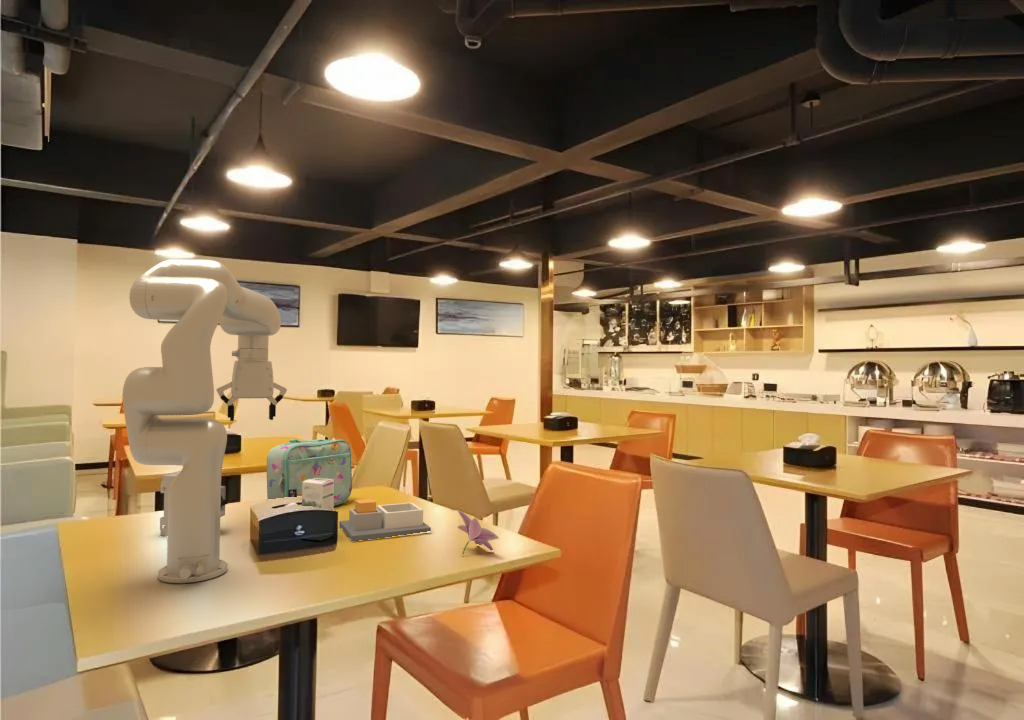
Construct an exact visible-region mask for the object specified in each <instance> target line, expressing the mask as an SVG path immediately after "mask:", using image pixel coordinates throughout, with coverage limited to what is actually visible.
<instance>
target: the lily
mask: <svg viewBox="0 0 1024 720" xmlns="http://www.w3.org/2000/svg"><path fill="white" fill-rule="evenodd" d="M456 511H457V512H458V514H459V516H460V518H462V521H463V523H464V524H461V525H458V526H457V529H459V530H461V531H463V532H464V533H466V534H467V535H468V540H467V542H466V544H465V546H464V548H463V551H462V554H463V555H464V554H465V551H466V549H467V547H468V544H469V543H470V542H472V541H473V542H474V543H475V545H476V544H479V545H481V546H485V547H486V548H488V550H490V551H491V550H494V548H493V547H492V545H491V543H490V541H494V540H499V538H500V537H499V535H497V534H495V532H493V531H491V530H489V529H487V528H484V527H481V523H480V522H479V520H478V519H477V518H476V517H473V519H471V518H470V517H469V516H468V515H467V514H466V513H465V512H464V511H461V509H458V508H457V509H456ZM462 554H461V555H462Z"/></svg>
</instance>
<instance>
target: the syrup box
mask: <svg viewBox="0 0 1024 720" xmlns="http://www.w3.org/2000/svg"><path fill="white" fill-rule="evenodd" d="M302 506H313V507H319V508H323V507H326V506H327V507H328V506H330V507H331V508H332V509H333V510H334V507H335V506H334V479H322V478H311V479H308V480H305V481H303V482H302Z"/></svg>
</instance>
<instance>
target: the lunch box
mask: <svg viewBox="0 0 1024 720" xmlns="http://www.w3.org/2000/svg"><path fill="white" fill-rule="evenodd" d="M352 474H353V472H352V449H351V446H350V444H349V443H348V442H347V441H346V440H344V439H332V440H331V439H310V440H307V439H306V440H298V439H297V438H294V439H293V438H291V439H288V442H287V443H286V442H285V443H282V444H279V445H275V446H273V447H272V448H271V449H270V450H269V451H268V452H267V456H266V497H267V498H266V499H267V500H268V499H276V498H284V497H297V496H302V482H303V481H305V480H308V479H311V478H322V479H334V507H335V506H337V505H340V504H343V503H345V502H346V501H348V499H349V498H350V496H351V494H352V490H353V475H352Z"/></svg>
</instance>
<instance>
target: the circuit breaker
mask: <svg viewBox="0 0 1024 720" xmlns="http://www.w3.org/2000/svg"><path fill="white" fill-rule="evenodd" d="M180 472H181V470H177V471H175V472H174V471H173V472H171V473H167V474H164V475H161V478H162V480H161V482H160V494H163V516H162V517H160V518H159V531H160V534H159V537H160V536H162V537H165V536H168V493H169V487H170V485H171V483H172V481H173V480H174V478H175V477H176V476H177V475H178V474H179V473H180ZM164 488H165V489H164ZM226 491H227V490H226V486H225V485H221V508H220V518H221V517H223V516H225V515H226V505H228V501H229V499H226Z"/></svg>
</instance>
